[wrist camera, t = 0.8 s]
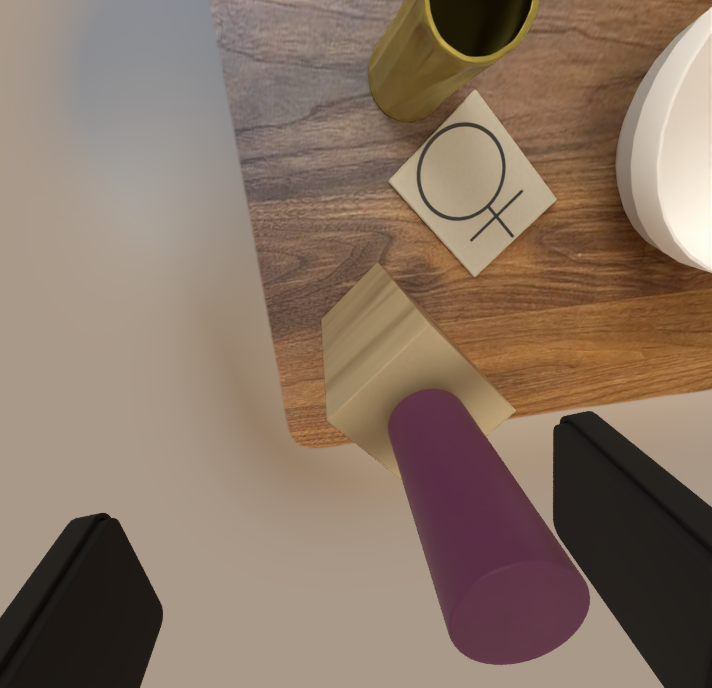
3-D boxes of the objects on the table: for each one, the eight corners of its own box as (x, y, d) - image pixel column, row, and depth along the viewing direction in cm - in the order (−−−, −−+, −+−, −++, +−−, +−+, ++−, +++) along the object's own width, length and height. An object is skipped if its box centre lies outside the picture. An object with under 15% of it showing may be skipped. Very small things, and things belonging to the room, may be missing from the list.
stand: (320, 319, 36) (326, 421, 21) (377, 261, 35) (429, 323, 19) (375, 368, 39) (418, 493, 23) (430, 315, 37) (516, 411, 22)
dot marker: (368, 419, 21) (418, 627, 11) (426, 365, 20) (536, 537, 10) (420, 462, 22) (507, 684, 12) (477, 413, 21) (617, 607, 12)
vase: (392, 138, 32) (448, 103, 19) (352, 55, 30) (384, -51, 16) (462, 94, 31) (573, 26, 18) (427, 6, 29) (523, -145, 16)
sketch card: (387, 181, 33) (388, 181, 32) (472, 90, 31) (476, 88, 31) (472, 276, 36) (475, 277, 36) (553, 199, 35) (557, 199, 34)
